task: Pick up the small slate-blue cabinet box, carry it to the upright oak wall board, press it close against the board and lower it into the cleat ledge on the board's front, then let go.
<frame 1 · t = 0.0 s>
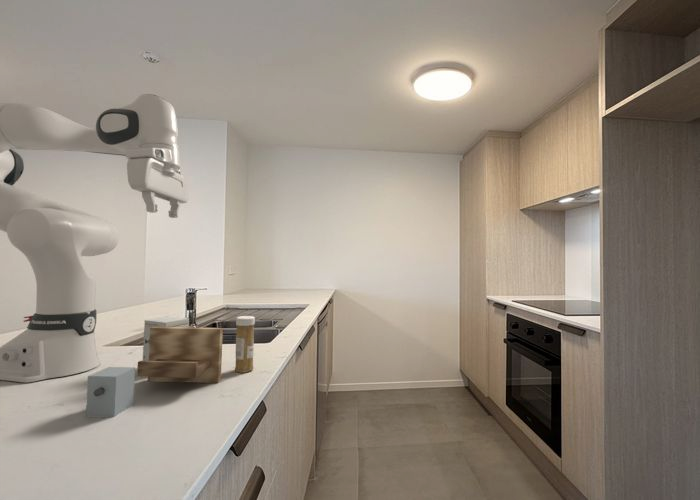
hand: (163, 215, 82), 39 cm above the countertop, tool pointing down, fingers open, 8 cm apart
supplement box: (165, 369, 83), on the countertop
cabinet box: (110, 410, 60), on the countertop
sprinkles bottle: (243, 371, 83), on the countertop
wall board: (184, 380, 75), on the countertop
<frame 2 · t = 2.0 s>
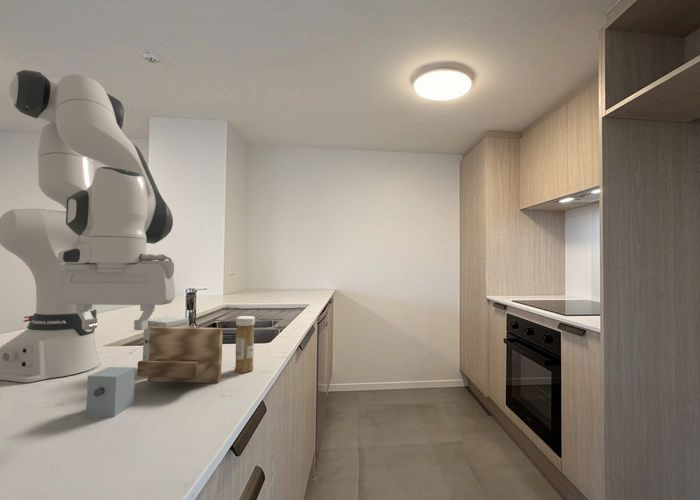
hand: (115, 329, 60), 15 cm above the countertop, tool pointing down, fingers open, 8 cm apart
nothing on the countertop moved.
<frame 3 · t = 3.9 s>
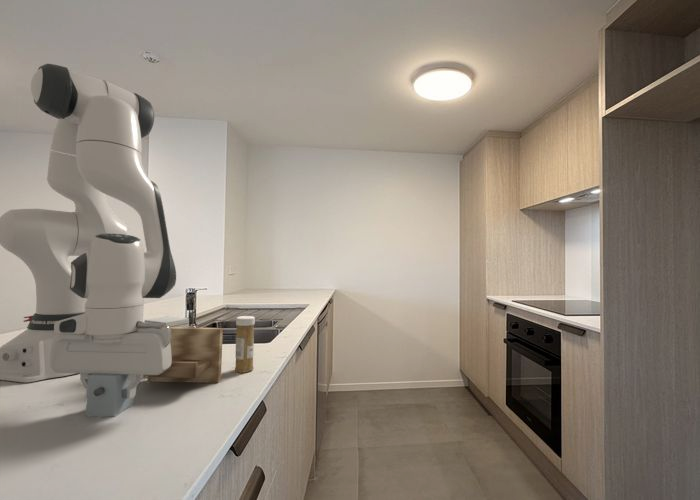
hand: (111, 397, 60), 2 cm above the countertop, tool pointing down, fingers closed on cabinet box, 5 cm apart
cabinet box: (110, 409, 60), on the countertop, touching gripper
everything else where it was.
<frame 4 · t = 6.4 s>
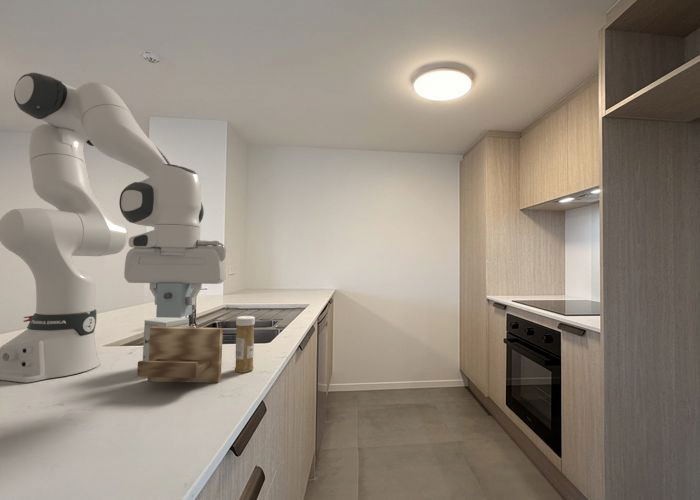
hand: (175, 304, 70), 18 cm above the countertop, tool pointing down, fingers closed on cabinet box, 5 cm apart
cabinet box: (174, 315, 70), point 16 cm above the countertop, touching gripper
everything else where it was.
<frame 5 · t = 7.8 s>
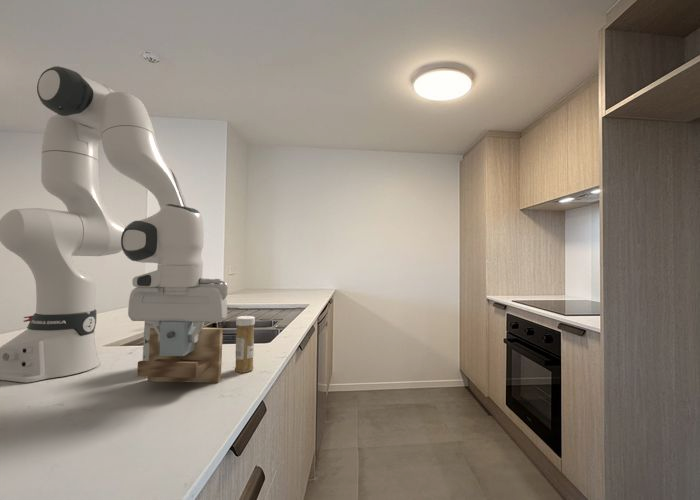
hand: (178, 341, 71), 10 cm above the countertop, tool pointing down, fingers closed on cabinet box, 5 cm apart
cabinet box: (177, 352, 71), point 7 cm above the countertop, touching gripper
everything else where it was.
when the fingers open (8 cm above the countertop, at t = 8.9 s): cabinet box stays where it is, resting on wall board.
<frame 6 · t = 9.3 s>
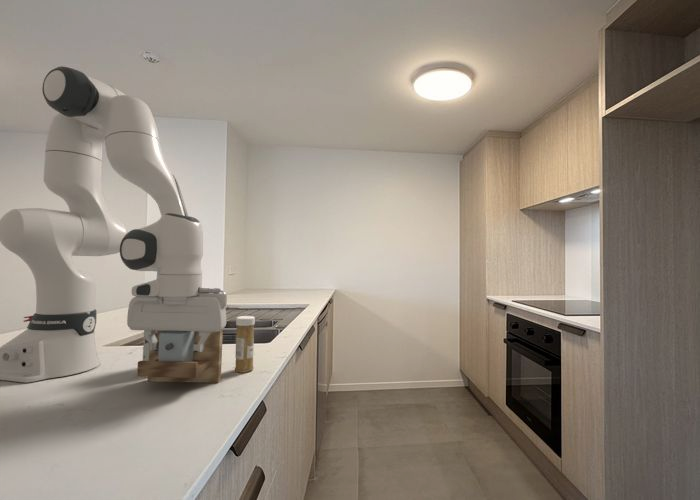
hand: (176, 351, 71), 8 cm above the countertop, tool pointing down, fingers open, 8 cm apart
cabinet box: (176, 364, 71), point 5 cm above the countertop, touching wall board
everything else where it was.
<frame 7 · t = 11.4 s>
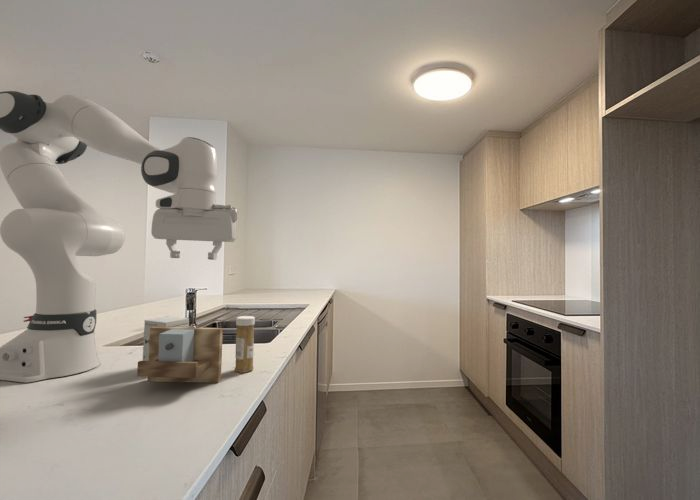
hand: (193, 258, 81), 28 cm above the countertop, tool pointing down, fingers open, 8 cm apart
nothing on the countertop moved.
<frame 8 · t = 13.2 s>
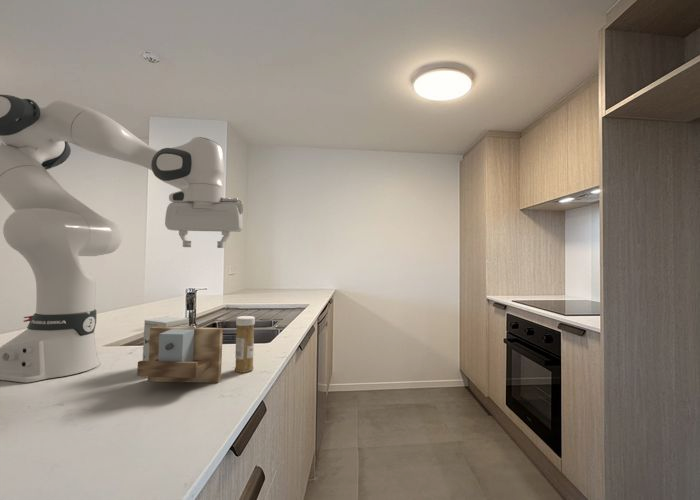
hand: (203, 247, 90), 31 cm above the countertop, tool pointing down, fingers open, 8 cm apart
nothing on the countertop moved.
at the end: cabinet box inside the target area (0.4 cm from its centre), point 5.0 cm above the countertop; cabinet box tilted 0°; the gripper is holding nothing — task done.
